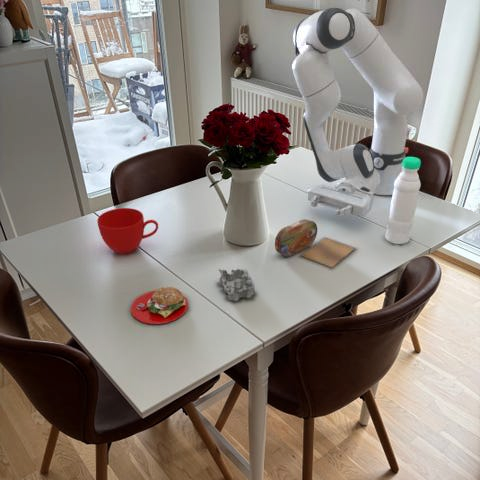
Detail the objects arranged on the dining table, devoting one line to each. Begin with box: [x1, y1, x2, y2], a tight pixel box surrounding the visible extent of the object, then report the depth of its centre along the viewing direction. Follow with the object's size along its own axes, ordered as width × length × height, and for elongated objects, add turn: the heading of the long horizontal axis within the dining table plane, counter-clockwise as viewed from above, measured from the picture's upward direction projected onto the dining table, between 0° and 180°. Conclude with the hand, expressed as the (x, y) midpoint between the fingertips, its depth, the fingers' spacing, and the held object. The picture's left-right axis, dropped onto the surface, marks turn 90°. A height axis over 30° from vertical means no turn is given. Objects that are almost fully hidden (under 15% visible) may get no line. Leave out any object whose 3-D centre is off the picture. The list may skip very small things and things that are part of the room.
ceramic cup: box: [96, 207, 159, 255], centre depth 146 cm, size 13×17×10 cm
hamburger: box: [130, 286, 189, 325], centre depth 123 cm, size 14×14×6 cm
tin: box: [274, 218, 318, 258], centre depth 144 cm, size 15×3×8 cm, turn 129°
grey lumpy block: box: [218, 268, 256, 302], centre depth 129 cm, size 11×8×4 cm
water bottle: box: [384, 156, 422, 245], centre depth 144 cm, size 7×7×25 cm
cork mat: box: [301, 237, 356, 269], centre depth 145 cm, size 13×10×1 cm
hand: (325, 208), depth 153 cm, fingers open, 8 cm apart
